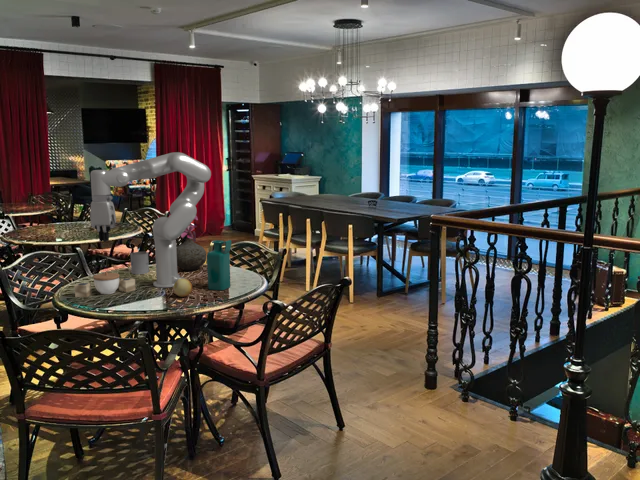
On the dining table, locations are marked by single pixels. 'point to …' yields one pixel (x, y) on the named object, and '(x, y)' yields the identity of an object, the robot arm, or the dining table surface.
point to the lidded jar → (106, 282)
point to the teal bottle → (219, 266)
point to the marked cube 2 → (127, 284)
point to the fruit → (182, 287)
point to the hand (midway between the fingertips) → (104, 240)
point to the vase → (190, 251)
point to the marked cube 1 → (83, 290)
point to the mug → (139, 262)
